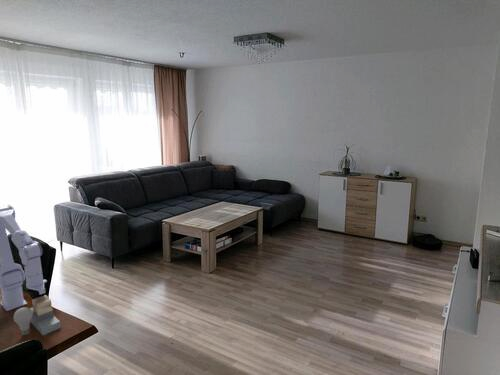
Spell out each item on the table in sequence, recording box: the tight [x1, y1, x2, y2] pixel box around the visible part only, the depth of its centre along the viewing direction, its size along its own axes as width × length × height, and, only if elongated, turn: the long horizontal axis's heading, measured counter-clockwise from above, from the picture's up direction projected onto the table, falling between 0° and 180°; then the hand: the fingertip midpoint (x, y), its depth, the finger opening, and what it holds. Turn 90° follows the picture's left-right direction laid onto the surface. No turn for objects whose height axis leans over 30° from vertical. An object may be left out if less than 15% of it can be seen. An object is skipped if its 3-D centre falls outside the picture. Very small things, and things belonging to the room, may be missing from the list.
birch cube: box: [31, 294, 53, 316], centre depth 143 cm, size 5×5×5 cm
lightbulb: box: [13, 306, 33, 336], centre depth 137 cm, size 6×6×11 cm
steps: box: [28, 306, 62, 336], centre depth 144 cm, size 14×6×6 cm, turn 49°
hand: (38, 304), depth 146 cm, fingers closed
